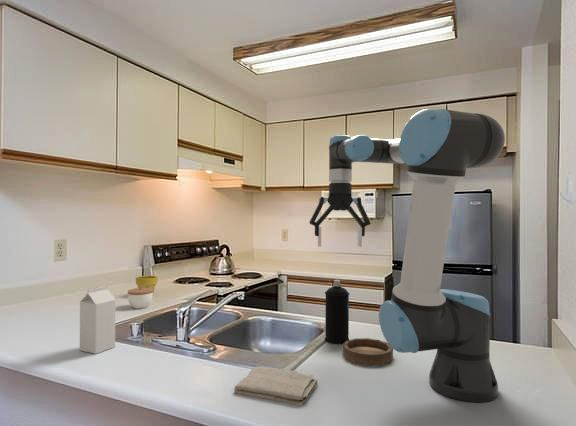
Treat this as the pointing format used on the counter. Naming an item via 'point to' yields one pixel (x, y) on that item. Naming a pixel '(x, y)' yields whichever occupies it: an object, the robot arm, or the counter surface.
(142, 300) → the lidded jar
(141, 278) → the plant pot
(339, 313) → the aerosol can
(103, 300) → the milk carton
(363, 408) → the counter surface
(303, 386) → the washcloth
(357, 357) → the round tray
